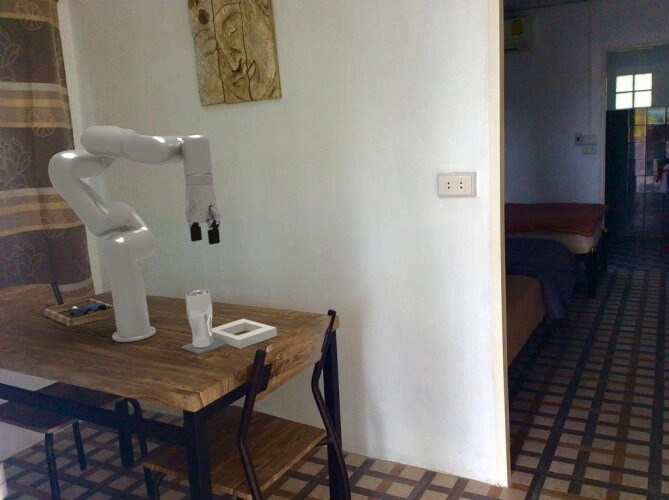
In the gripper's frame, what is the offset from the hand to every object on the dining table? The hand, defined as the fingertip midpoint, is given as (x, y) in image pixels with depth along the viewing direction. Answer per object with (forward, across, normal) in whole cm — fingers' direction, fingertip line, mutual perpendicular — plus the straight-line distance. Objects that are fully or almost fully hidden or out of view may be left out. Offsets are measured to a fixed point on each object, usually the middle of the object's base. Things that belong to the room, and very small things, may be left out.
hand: (205, 242), depth 169 cm
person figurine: (+30, -62, -13) cm, 70 cm away
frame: (+29, -65, -15) cm, 73 cm away
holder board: (+29, +4, +7) cm, 30 cm away
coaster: (+29, +2, -5) cm, 29 cm away
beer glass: (+28, +2, -5) cm, 29 cm away
